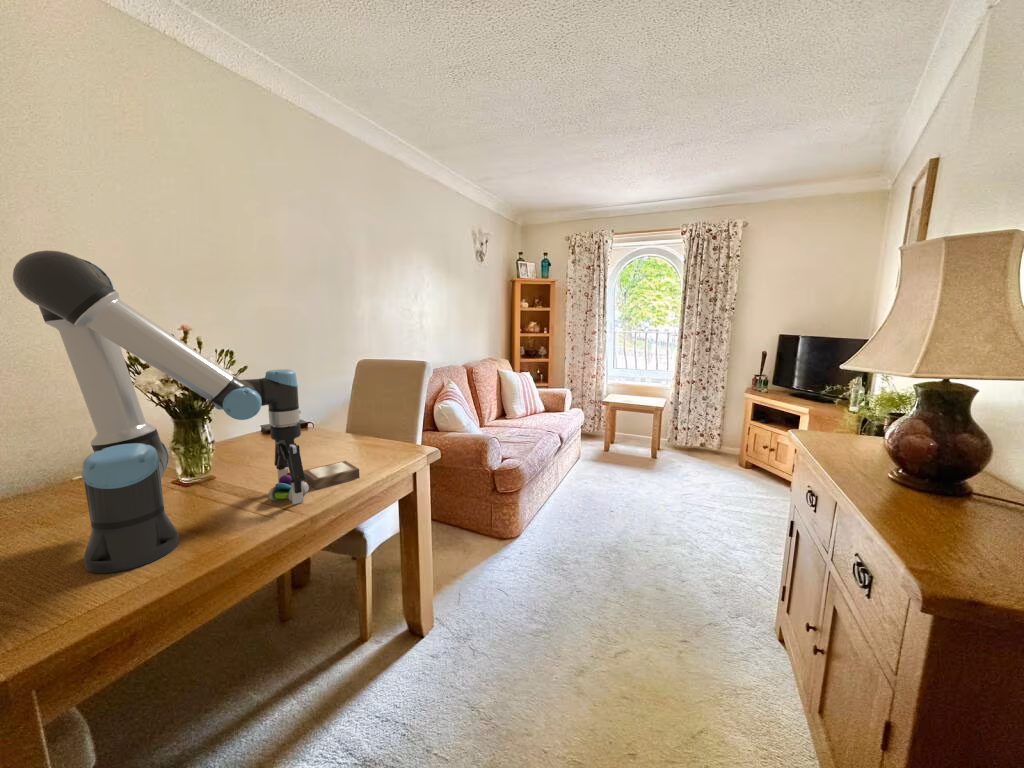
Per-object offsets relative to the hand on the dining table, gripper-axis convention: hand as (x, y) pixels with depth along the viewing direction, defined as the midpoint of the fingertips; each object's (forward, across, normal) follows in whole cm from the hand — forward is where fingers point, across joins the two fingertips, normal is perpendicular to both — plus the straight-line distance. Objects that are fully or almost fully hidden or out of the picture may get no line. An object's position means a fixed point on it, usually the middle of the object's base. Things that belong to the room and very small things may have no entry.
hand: (290, 496), depth 119 cm
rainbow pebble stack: (0, 0, 0) cm, 1 cm away
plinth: (0, +6, -14) cm, 15 cm away
